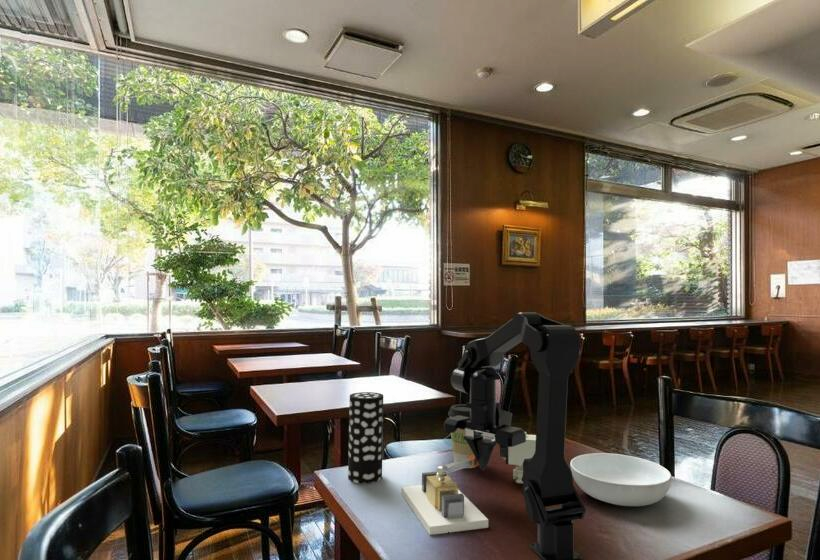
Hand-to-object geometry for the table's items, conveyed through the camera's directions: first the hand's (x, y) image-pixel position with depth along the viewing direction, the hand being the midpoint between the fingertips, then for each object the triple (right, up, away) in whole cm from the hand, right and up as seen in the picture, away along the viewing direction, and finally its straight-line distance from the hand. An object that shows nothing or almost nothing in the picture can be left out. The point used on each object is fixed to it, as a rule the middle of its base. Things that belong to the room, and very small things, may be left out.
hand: (483, 469), depth 108 cm
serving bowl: (+31, -8, +2) cm, 32 cm away
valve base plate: (-10, -6, -5) cm, 13 cm away
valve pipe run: (-10, -5, -5) cm, 12 cm away
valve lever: (-5, 0, -1) cm, 5 cm away
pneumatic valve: (+12, -7, +11) cm, 18 cm away
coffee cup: (-1, -8, +23) cm, 24 cm away
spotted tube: (-27, -7, +12) cm, 31 cm away
